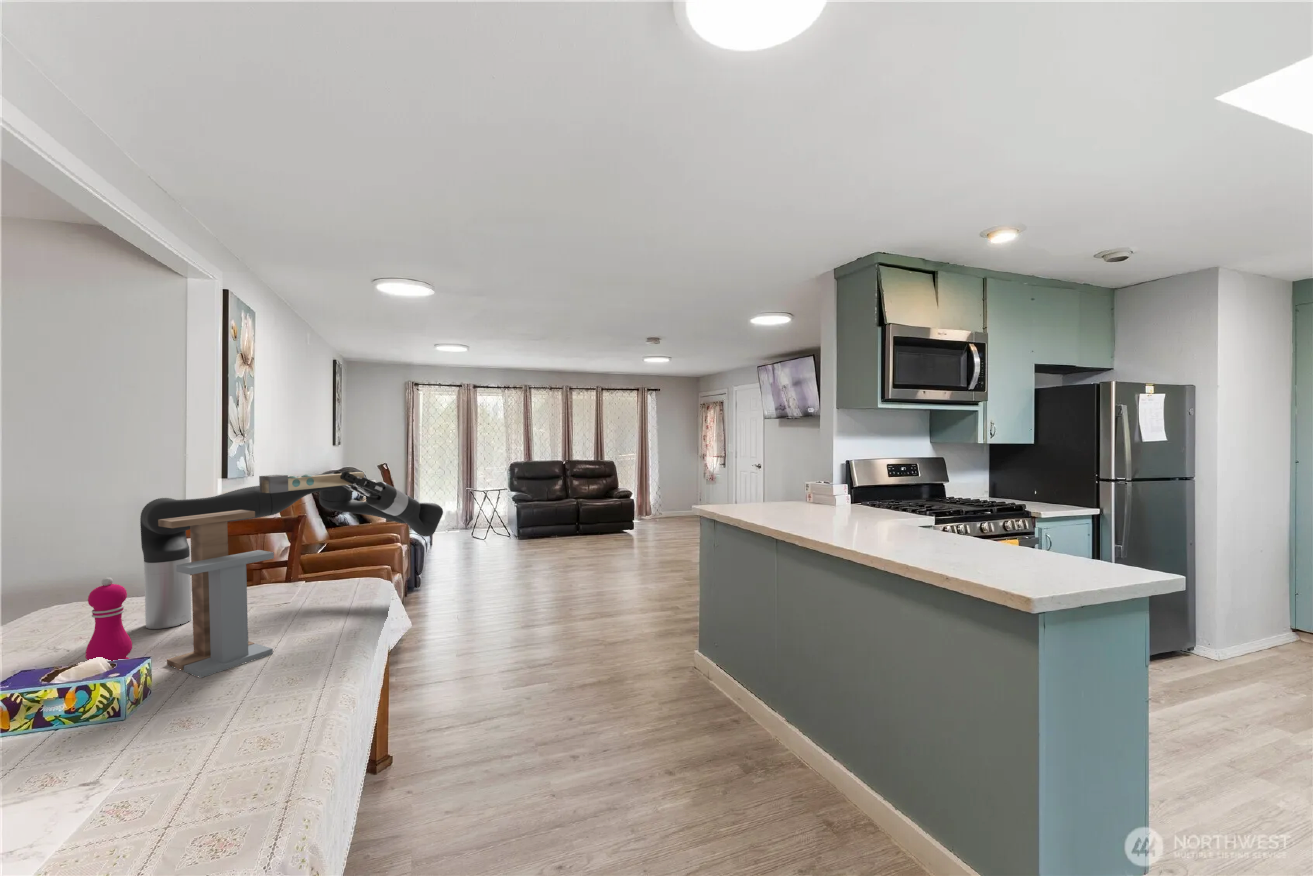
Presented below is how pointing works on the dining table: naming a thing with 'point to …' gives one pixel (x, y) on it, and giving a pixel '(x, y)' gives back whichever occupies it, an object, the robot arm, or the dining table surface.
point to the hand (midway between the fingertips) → (338, 474)
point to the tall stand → (205, 544)
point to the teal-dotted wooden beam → (301, 482)
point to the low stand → (227, 611)
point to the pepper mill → (108, 622)
